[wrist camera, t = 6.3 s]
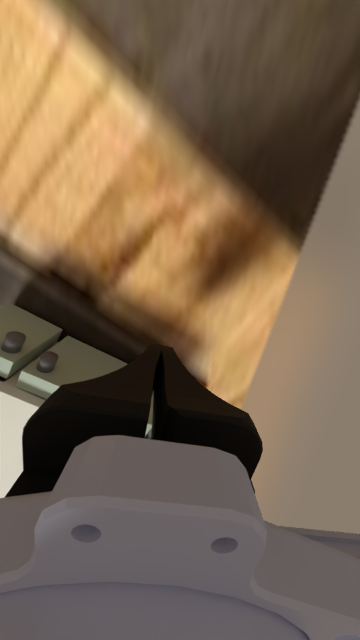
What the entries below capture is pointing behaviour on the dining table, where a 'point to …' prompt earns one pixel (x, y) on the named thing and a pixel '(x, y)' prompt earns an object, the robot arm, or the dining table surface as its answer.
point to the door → (69, 369)
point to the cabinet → (3, 373)
